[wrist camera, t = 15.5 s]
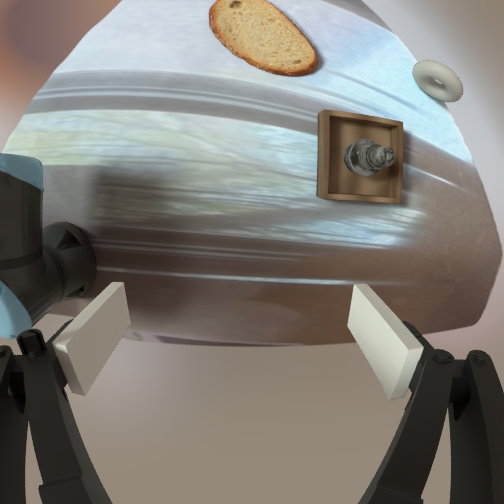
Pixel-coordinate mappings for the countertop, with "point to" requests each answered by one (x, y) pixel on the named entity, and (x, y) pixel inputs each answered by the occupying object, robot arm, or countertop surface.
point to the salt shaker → (367, 157)
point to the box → (332, 163)
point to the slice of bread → (262, 37)
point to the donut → (433, 70)
